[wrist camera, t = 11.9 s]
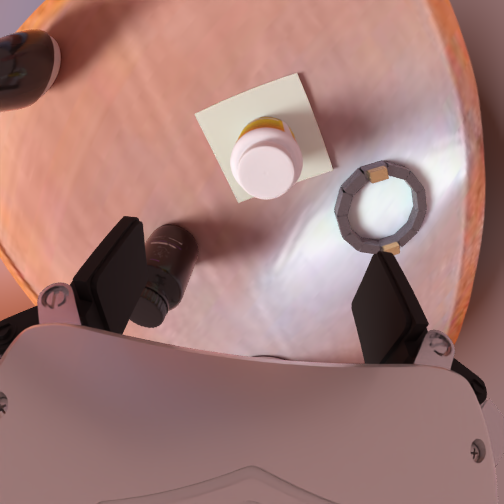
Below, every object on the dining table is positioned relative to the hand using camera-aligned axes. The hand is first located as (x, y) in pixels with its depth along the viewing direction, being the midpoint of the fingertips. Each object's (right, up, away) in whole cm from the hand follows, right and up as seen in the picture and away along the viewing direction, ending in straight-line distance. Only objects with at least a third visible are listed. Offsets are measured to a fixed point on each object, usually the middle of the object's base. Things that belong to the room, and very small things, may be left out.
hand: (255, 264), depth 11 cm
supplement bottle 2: (+1, +12, +16) cm, 20 cm away
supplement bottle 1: (-10, +1, +25) cm, 27 cm away
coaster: (+1, +12, +16) cm, 20 cm away
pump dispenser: (-26, +24, +10) cm, 37 cm away
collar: (+15, +6, +20) cm, 26 cm away
